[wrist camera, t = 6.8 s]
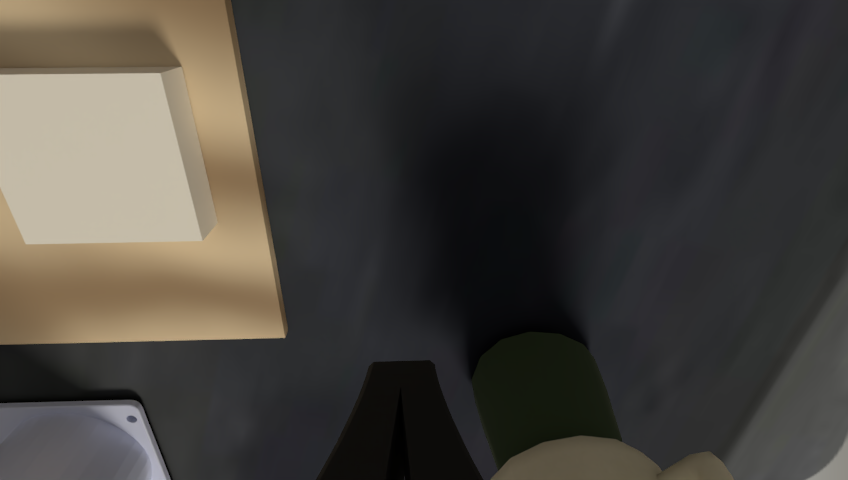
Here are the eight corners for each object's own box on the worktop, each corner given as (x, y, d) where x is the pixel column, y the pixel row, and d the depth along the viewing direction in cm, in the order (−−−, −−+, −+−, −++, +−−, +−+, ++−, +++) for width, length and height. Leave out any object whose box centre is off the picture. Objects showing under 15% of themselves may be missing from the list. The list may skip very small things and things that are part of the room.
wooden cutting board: (287, 329, 22) (285, 337, 22) (-12, 336, 22) (-22, 345, 21) (205, -148, 14) (196, -154, 14) (-279, -150, 14) (-306, -155, 13)
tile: (202, 240, 18) (25, 244, 17) (218, 222, 19) (55, 225, 19) (160, 72, 15) (-51, 75, 15) (182, 66, 16) (-9, 68, 16)
